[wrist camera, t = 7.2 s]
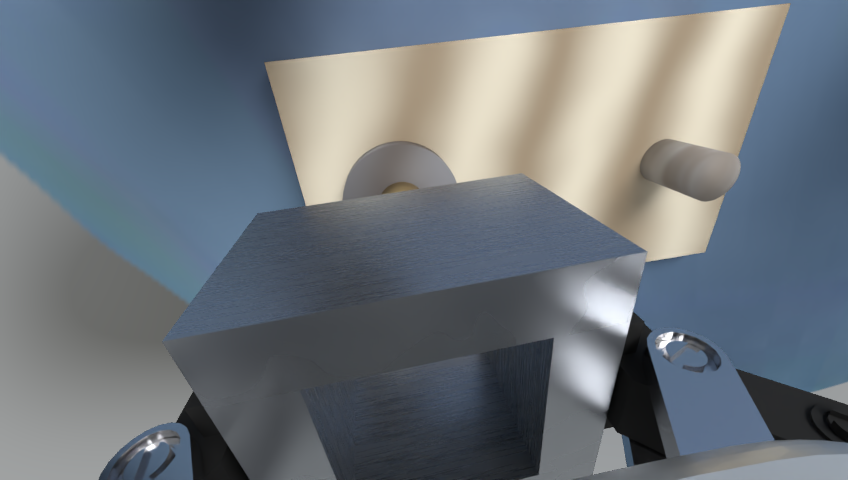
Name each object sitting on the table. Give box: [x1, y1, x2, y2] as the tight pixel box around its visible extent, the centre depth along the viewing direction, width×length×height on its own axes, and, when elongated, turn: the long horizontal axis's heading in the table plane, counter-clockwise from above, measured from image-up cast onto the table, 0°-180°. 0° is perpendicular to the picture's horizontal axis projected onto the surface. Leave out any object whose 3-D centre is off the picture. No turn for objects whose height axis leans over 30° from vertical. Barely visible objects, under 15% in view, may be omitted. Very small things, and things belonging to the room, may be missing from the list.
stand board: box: [264, 3, 791, 262], centre depth 16 cm, size 25×14×7 cm, turn 96°
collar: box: [162, 173, 648, 480], centre depth 8 cm, size 7×7×4 cm
